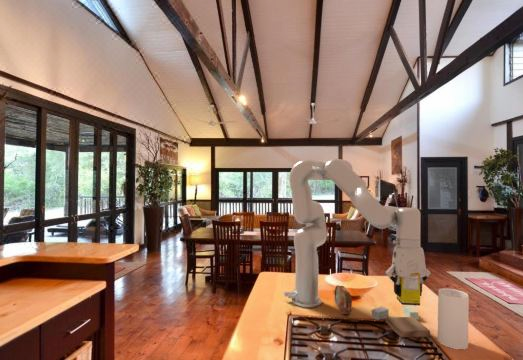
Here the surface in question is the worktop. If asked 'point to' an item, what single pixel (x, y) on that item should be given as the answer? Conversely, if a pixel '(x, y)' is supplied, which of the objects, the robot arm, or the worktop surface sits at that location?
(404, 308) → the sage brick
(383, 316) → the slate brick
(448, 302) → the cup
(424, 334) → the walnut slab
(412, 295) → the supplement box
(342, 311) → the tin
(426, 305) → the worktop surface
